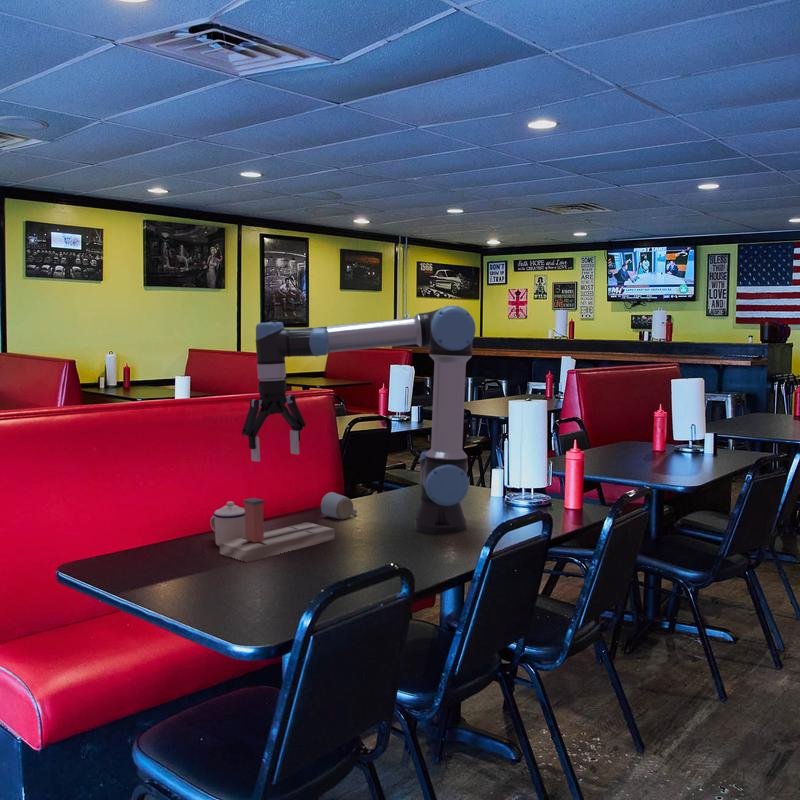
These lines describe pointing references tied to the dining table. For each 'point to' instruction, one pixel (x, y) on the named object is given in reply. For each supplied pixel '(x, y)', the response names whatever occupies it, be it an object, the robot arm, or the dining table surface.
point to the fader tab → (254, 519)
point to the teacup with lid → (228, 523)
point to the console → (277, 542)
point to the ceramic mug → (337, 506)
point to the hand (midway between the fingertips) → (275, 457)
